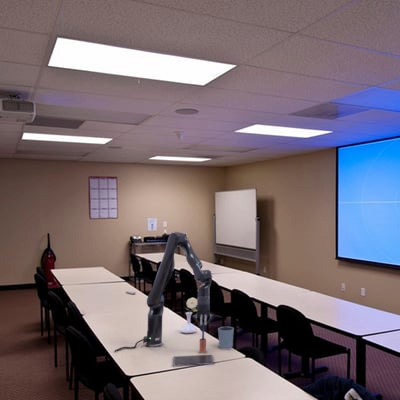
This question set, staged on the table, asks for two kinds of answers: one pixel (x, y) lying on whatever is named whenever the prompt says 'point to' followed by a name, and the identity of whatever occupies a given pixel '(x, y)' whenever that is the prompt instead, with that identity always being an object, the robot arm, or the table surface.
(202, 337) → the stylus
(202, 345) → the pen pot
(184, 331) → the flower in vase
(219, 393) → the table surface
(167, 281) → the robot arm
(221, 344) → the blue-grey tapered bin
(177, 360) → the tablet
